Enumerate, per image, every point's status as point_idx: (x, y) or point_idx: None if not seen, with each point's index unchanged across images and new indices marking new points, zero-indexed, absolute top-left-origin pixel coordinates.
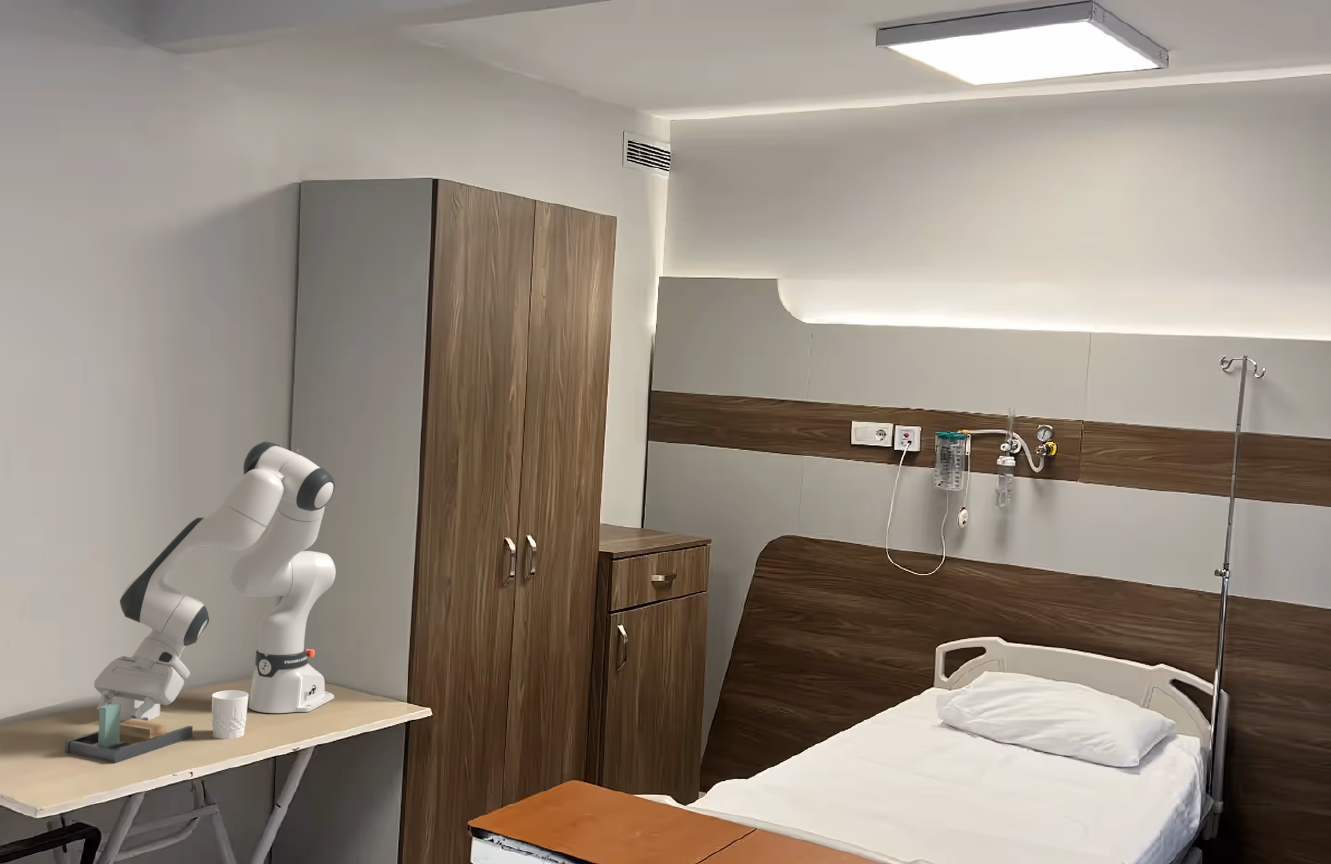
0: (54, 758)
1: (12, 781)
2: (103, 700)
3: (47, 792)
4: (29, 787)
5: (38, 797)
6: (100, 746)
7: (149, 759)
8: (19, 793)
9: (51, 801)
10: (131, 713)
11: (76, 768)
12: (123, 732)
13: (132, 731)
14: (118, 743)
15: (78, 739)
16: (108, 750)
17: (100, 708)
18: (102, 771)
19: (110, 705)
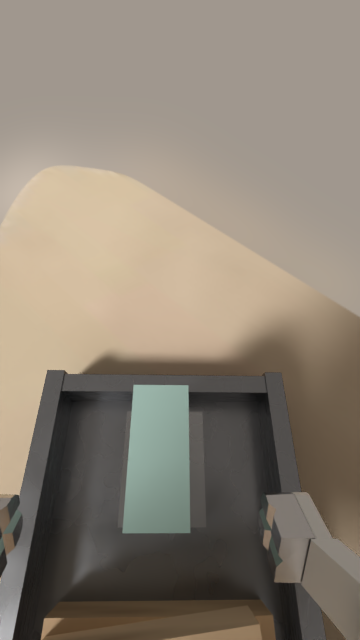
0: (269, 360)
1: (197, 218)
2: (323, 550)
3: (87, 207)
4: (139, 211)
5: (82, 187)
6: None
7: None
8: (129, 187)
9: (45, 184)
10: (7, 498)
11: (151, 329)
12: (203, 615)
13: (149, 629)
14: None
15: (269, 416)
16: (83, 374)
17: (180, 387)
18: (72, 343)
19: (157, 450)
